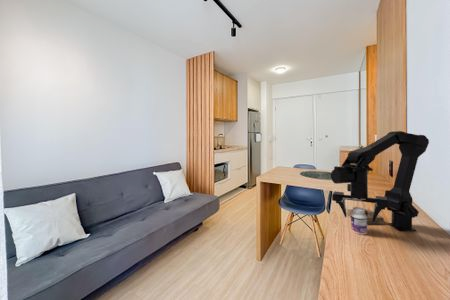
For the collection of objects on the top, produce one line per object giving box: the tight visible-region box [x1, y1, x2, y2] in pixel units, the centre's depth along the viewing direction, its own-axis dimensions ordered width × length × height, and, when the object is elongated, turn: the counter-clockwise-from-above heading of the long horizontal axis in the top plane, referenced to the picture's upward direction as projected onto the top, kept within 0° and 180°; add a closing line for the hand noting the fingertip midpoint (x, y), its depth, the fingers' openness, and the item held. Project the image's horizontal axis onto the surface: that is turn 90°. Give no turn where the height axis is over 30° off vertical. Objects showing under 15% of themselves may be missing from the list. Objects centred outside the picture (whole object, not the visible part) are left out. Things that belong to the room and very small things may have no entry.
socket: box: [346, 208, 385, 225], centre depth 89 cm, size 10×10×3 cm
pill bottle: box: [350, 206, 368, 236], centre depth 78 cm, size 5×5×10 cm
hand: (359, 219), depth 78 cm, fingers open, 9 cm apart
